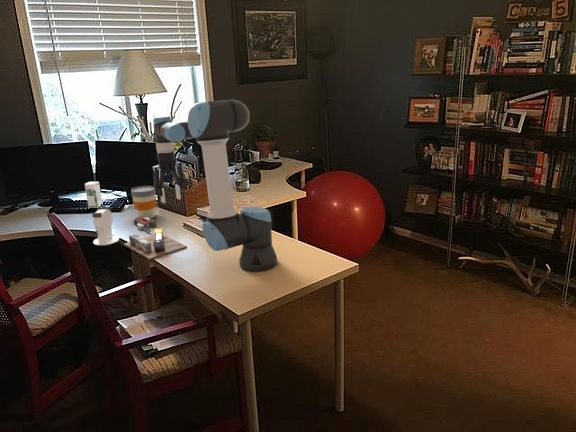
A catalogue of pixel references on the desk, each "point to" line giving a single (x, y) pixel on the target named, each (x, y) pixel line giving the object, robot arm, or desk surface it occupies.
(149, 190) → the reusable coffee cup
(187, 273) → the desk surface
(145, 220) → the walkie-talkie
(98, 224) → the white figurine
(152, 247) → the board
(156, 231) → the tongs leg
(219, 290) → the desk surface
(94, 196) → the syrup box
